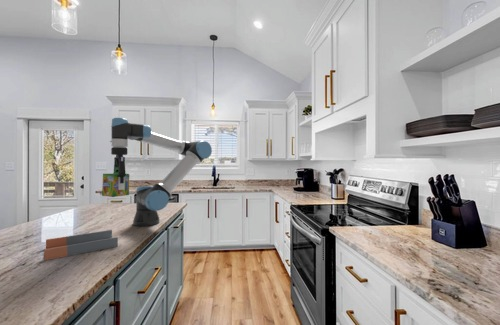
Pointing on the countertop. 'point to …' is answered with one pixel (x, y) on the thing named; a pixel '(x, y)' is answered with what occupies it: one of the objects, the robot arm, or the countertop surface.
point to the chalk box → (114, 185)
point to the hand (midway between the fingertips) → (119, 188)
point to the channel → (79, 244)
